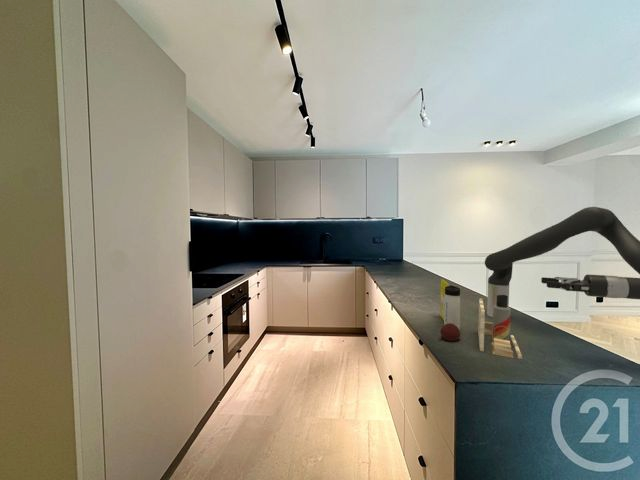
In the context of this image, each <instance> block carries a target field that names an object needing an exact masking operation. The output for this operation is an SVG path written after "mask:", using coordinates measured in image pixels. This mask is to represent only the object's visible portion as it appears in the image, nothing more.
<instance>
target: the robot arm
mask: <svg viewBox="0 0 640 480" xmlns="http://www.w3.org/2000/svg"><path fill="white" fill-rule="evenodd" d="M587 232H594V233H595V232H596V233H597V234H599V235H600V236H602V237H603V238H605V239H606V240H607V241H608V242H610V243H611V244H612V245H613V247H614V248H615V249H616V251H617V252H618V254H619V255H620V256H621V258H622V259H623V260H624V261H625V262H626V264H627V265H629V266H630V268H632V269H633V270H634V271H635V272H636V273H637V274H638V275H640V240H639V239H638V238H637V237H636V236H635V235H634V234H633V233H632V232H631V231H630V230H628V228H627V227H626V226H625V225H624V224H623V223H622V221H621V220H620V219H619V218H618V216H617V215H616V213H614V212H613V211H612V210H610V209H607V208H604V207H598V206H588V207H585V208H582V209H580V210H579V211H577V212H575V213H573V214H571V215H570V216H569V217H567V218H565V219H563V220H561V221H559V222H557V223H556V224H554V225H551V226H549V227H546V228H545V229H543V230H541V231H538V232H535V233H534V234H532V235H530V236H527V237H526V238H523V239H521V240H520V241H517V242H515V243H514V244H512V245H511V246H509V247H506V248H504V249H501V250H499V251H495V252H493V253H489V255H487V256H486V257H485V260H484V265H485V267H486V269H488V270H489V271H493V272H492V274H491V275H490V276H489V277H488V279H487V303H486V304H487V307H486V309H487V310H486V315H487V316H488V317H490V318H492V319H493V306H494V305H496V296H497V295H507V296H508V307H509V306H510V282H511V280H512V278H513V277H512V275H513V265H514V263H515V262H519V261H522V260H527V259H532V258H535V257H538V256H541V255H543V254H546V253H548V252H551V251H553V250H555V249H556V248H558V247H559V246H560V245H562V244H563V243H564V242H565V241H567V240H568V239H570V238H572V237H576V236H578V235H581V234H583V233H587ZM540 280H541V283H542V284H544V285H545V284H546V287H547V288H550V289H558V290H559V289H560V290H563V291H564V290H565V291H566V292H581V293H584V294H585V296H587V297H594V298H609V299H628V300H630V299H631V300H640V277H629V276H617V275H607V274H606V275H604V274H603V275H602V274H585V275H584V276H583V279H582V280H581V279H579V278H577V277H563V276H562V277H560V276H555V277H541V279H540Z"/></svg>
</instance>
